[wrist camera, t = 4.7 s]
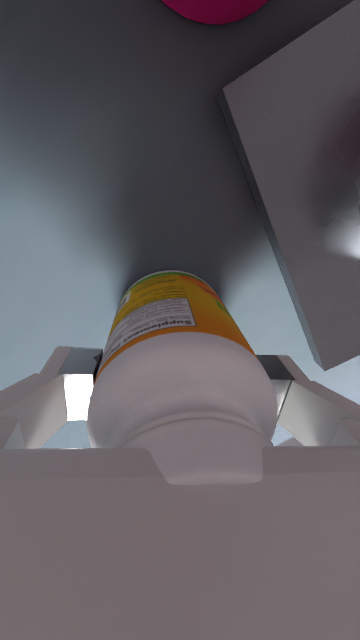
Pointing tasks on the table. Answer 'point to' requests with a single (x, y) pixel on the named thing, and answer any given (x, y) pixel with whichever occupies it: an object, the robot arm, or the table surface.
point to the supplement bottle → (182, 385)
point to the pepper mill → (215, 9)
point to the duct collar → (308, 173)
